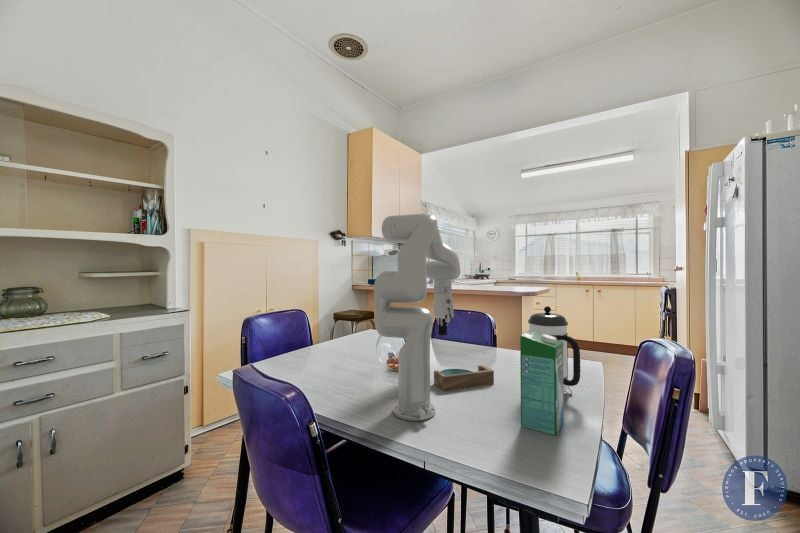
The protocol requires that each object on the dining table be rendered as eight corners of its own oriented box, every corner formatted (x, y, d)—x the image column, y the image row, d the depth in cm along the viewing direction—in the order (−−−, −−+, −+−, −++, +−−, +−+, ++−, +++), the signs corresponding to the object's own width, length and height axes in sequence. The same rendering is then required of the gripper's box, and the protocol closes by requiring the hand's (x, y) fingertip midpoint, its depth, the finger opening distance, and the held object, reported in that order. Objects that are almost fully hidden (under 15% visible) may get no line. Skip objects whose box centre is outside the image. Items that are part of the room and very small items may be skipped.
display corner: (493, 384, 124) (493, 370, 124) (444, 391, 117) (443, 377, 117) (481, 377, 132) (481, 364, 132) (433, 384, 124) (433, 370, 124)
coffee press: (522, 396, 112) (521, 307, 112) (528, 382, 126) (527, 303, 126) (580, 406, 104) (579, 310, 104) (579, 389, 118) (579, 305, 118)
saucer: (485, 383, 126) (485, 376, 126) (454, 389, 119) (454, 382, 119) (460, 372, 139) (460, 366, 139) (431, 378, 132) (431, 371, 132)
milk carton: (556, 436, 85) (555, 338, 85) (520, 426, 91) (520, 334, 91) (563, 423, 92) (563, 333, 93) (530, 414, 98) (529, 329, 98)
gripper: (459, 292, 134) (459, 337, 134) (442, 290, 148) (442, 331, 148) (443, 292, 132) (443, 338, 131) (427, 290, 146) (427, 332, 145)
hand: (442, 334), depth 139 cm, fingers closed
